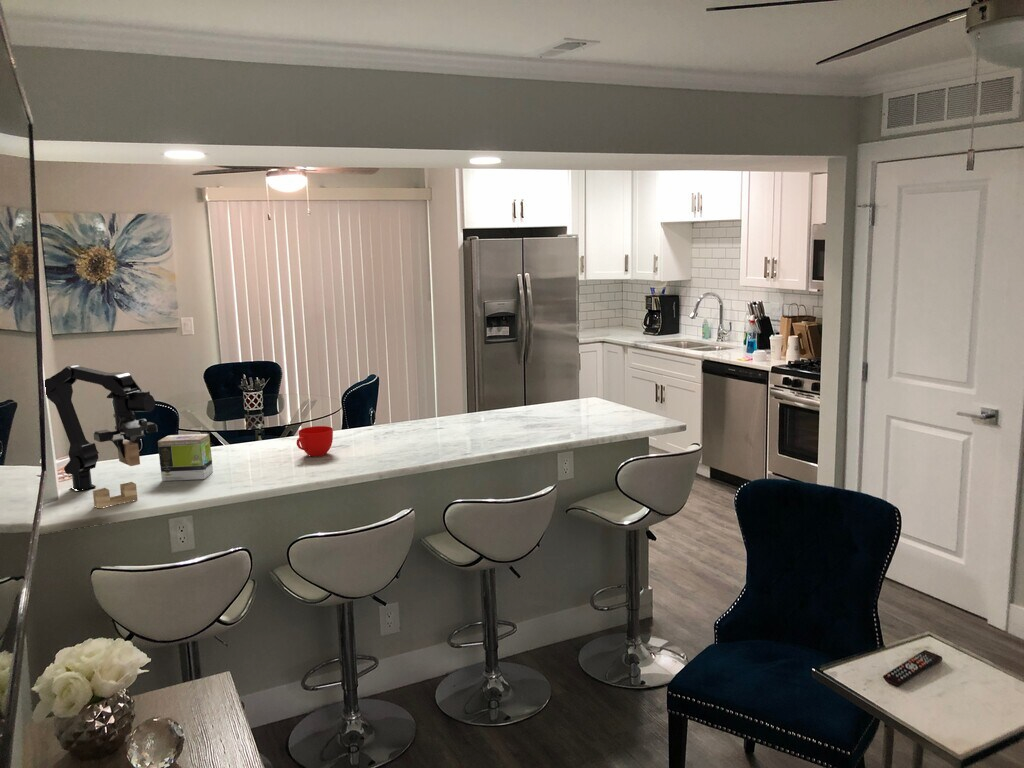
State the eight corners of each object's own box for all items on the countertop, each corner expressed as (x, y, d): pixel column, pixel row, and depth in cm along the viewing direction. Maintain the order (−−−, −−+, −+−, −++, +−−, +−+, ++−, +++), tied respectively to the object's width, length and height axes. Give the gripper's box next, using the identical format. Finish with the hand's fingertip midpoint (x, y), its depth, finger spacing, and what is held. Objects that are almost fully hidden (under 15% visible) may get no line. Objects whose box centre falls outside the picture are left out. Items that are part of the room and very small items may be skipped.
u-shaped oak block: (94, 507, 255) (92, 490, 254) (133, 498, 264) (131, 481, 263) (98, 509, 253) (96, 492, 252) (137, 500, 261) (135, 483, 260)
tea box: (213, 472, 292) (210, 432, 290) (204, 480, 282) (200, 439, 280) (171, 473, 292) (167, 434, 289) (160, 481, 282) (156, 440, 279)
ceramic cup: (285, 459, 307) (283, 434, 305) (315, 449, 322) (314, 425, 320) (311, 463, 301) (310, 437, 299) (341, 452, 316) (339, 427, 314)
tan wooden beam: (119, 461, 272) (116, 441, 271) (128, 459, 274) (126, 439, 273) (130, 466, 265) (128, 445, 264) (140, 464, 267) (138, 443, 266)
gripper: (103, 419, 254) (108, 466, 257) (162, 409, 268) (166, 455, 270) (90, 414, 262) (96, 461, 265) (148, 405, 275) (153, 449, 278)
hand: (128, 456), depth 269 cm, fingers closed on tan wooden beam, 3 cm apart
